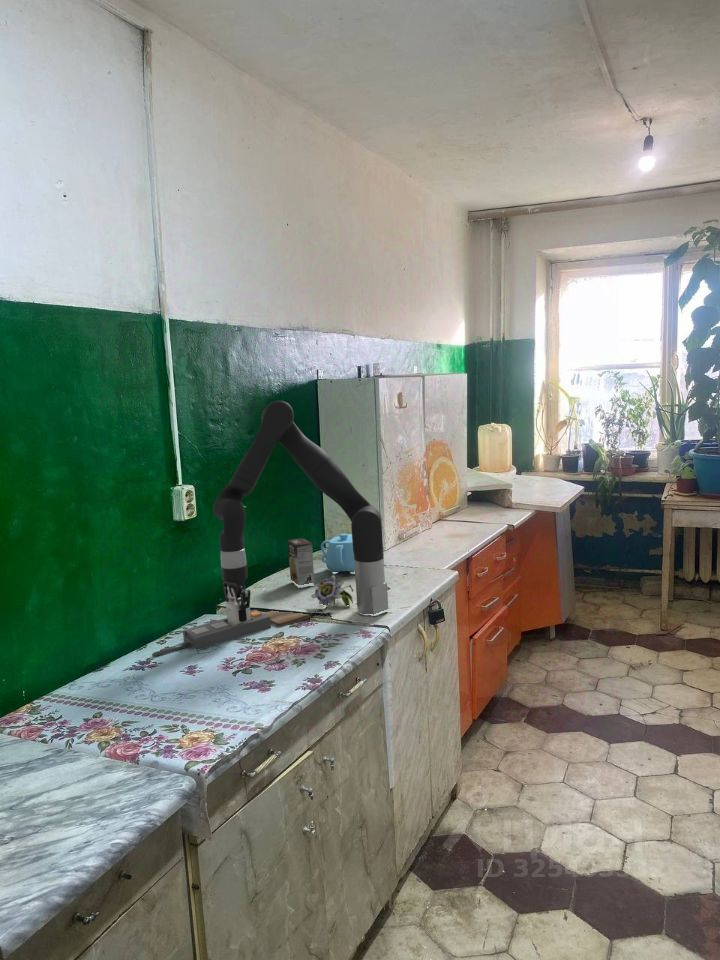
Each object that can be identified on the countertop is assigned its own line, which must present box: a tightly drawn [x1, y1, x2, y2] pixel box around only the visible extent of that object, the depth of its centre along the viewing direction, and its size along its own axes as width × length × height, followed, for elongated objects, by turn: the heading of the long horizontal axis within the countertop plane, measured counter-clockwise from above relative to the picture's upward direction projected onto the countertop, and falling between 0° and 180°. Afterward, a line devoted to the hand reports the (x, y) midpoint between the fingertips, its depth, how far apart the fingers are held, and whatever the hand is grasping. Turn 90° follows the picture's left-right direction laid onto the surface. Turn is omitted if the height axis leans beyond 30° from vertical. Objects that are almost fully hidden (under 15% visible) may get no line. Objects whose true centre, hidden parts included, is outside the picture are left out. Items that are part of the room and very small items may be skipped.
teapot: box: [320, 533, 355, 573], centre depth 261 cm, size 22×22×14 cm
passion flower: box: [310, 574, 354, 608], centre depth 223 cm, size 11×11×12 cm
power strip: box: [151, 609, 272, 657], centre depth 200 cm, size 9×35×4 cm, turn 127°
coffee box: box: [287, 537, 315, 585], centre depth 247 cm, size 9×6×16 cm
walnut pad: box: [263, 610, 310, 628], centre depth 215 cm, size 12×12×1 cm
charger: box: [220, 601, 251, 626], centre depth 204 cm, size 4×8×7 cm, turn 127°
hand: (239, 618), depth 205 cm, fingers closed on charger, 4 cm apart
